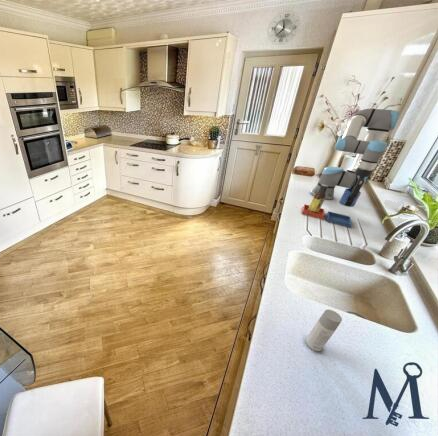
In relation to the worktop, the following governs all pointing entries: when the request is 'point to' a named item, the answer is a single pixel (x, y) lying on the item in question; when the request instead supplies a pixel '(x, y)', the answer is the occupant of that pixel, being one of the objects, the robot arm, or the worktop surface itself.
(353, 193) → the robot arm
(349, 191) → the blue cup
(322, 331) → the container
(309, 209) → the sauce bottle
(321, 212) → the red tray
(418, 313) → the worktop surface
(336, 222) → the blue tray
